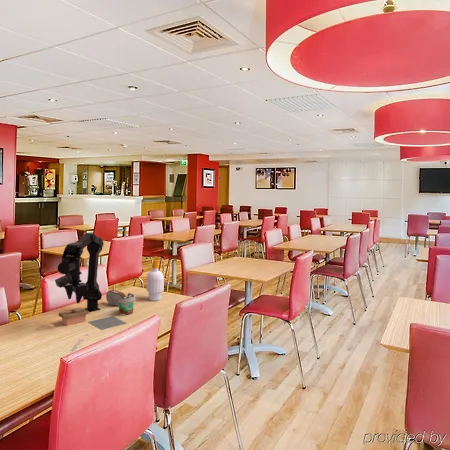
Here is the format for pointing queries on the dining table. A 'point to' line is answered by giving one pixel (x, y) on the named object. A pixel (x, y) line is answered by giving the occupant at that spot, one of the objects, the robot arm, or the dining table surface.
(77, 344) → the spoon
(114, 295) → the tin
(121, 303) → the food container
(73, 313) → the lid
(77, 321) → the dish
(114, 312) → the dining table surface
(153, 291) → the soap bottle
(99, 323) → the mat
